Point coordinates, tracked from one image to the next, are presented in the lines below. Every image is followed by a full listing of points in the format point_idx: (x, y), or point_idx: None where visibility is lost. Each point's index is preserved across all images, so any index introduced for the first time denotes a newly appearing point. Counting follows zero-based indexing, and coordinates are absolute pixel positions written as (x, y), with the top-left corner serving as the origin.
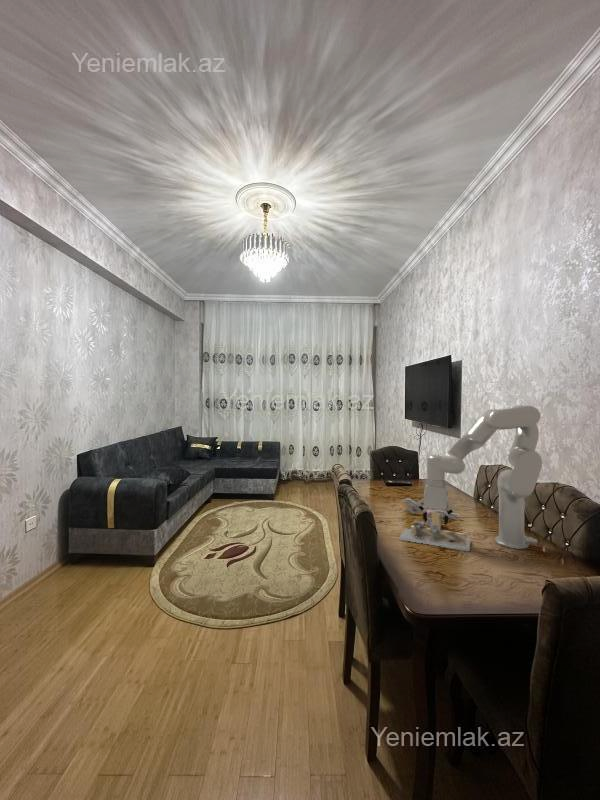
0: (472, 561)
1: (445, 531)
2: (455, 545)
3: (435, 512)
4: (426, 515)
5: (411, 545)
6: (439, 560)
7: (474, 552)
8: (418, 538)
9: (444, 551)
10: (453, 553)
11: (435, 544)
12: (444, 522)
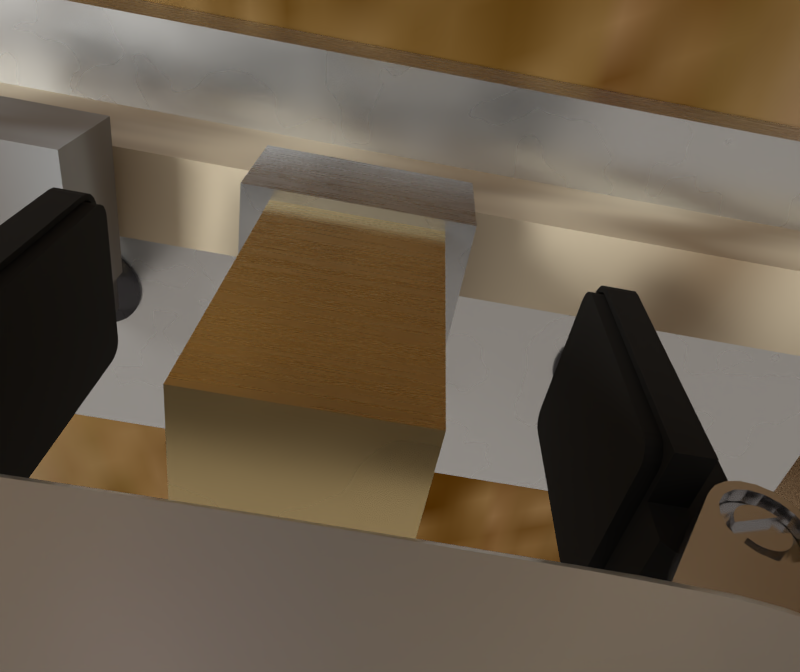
0: None
1: (548, 287)
2: None
3: (287, 421)
4: (34, 401)
5: (104, 467)
6: None
7: (789, 490)
8: (134, 392)
9: (452, 526)
10: (537, 547)
11: None
12: (542, 459)
